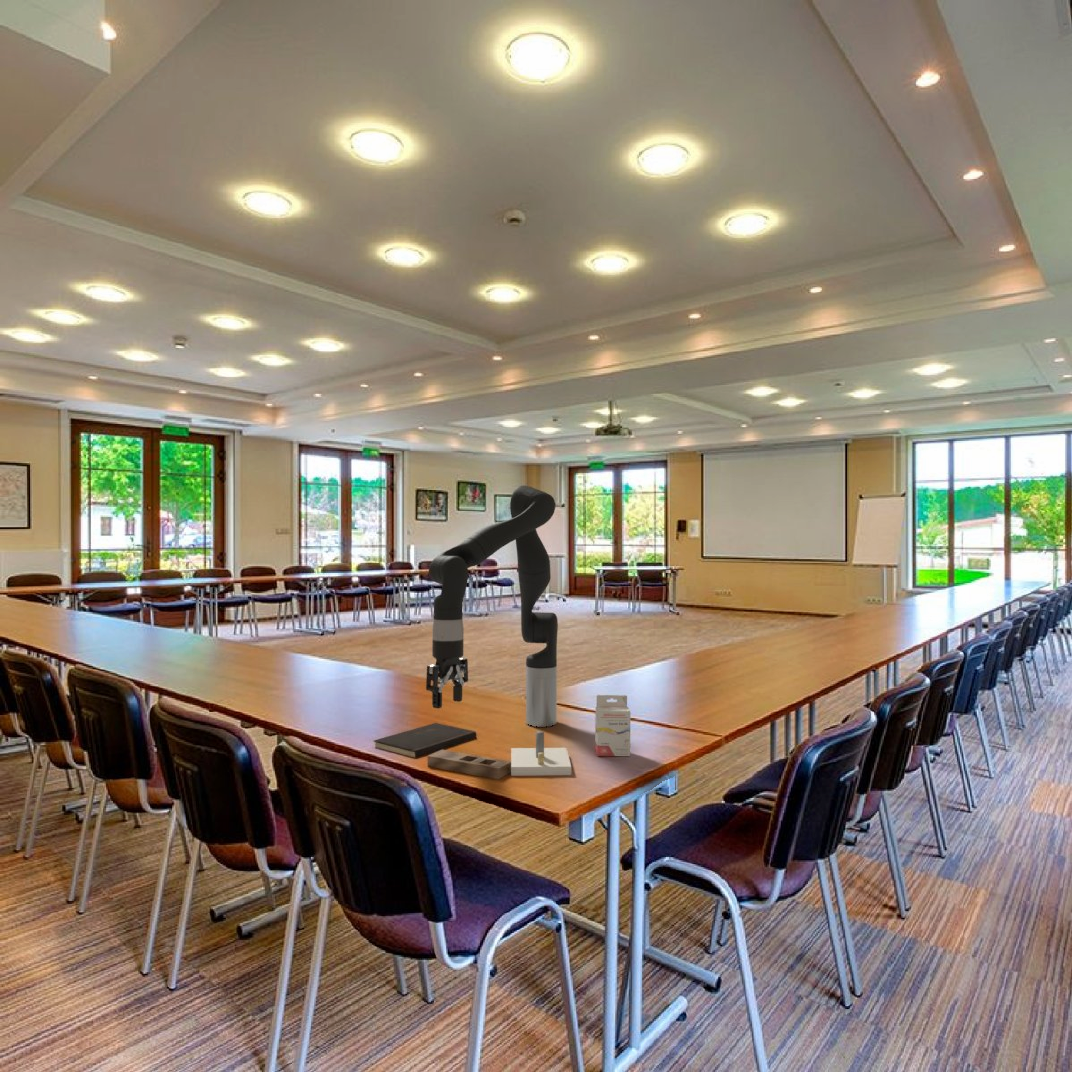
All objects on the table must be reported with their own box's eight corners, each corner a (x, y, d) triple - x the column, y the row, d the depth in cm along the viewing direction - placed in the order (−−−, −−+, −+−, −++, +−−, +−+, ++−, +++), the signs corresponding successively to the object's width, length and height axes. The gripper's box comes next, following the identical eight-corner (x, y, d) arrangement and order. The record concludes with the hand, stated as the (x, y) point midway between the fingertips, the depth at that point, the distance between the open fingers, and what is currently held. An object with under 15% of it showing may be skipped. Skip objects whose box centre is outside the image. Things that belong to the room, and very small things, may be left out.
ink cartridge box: (597, 757, 175) (597, 698, 175) (594, 751, 180) (594, 694, 180) (630, 757, 176) (630, 698, 176) (627, 751, 181) (627, 694, 181)
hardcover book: (373, 749, 184) (373, 740, 184) (435, 730, 202) (435, 722, 202) (415, 760, 174) (415, 751, 174) (476, 739, 193) (476, 731, 193)
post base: (511, 756, 176) (511, 724, 176) (566, 755, 177) (566, 724, 177) (511, 775, 161) (511, 741, 161) (571, 775, 162) (571, 740, 162)
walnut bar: (427, 766, 168) (427, 755, 168) (441, 759, 173) (441, 749, 173) (498, 779, 158) (498, 768, 158) (511, 772, 164) (511, 761, 164)
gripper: (443, 642, 161) (443, 712, 161) (476, 635, 174) (476, 700, 173) (417, 640, 165) (417, 708, 164) (452, 633, 177) (451, 697, 177)
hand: (447, 704), depth 169 cm, fingers open, 8 cm apart
